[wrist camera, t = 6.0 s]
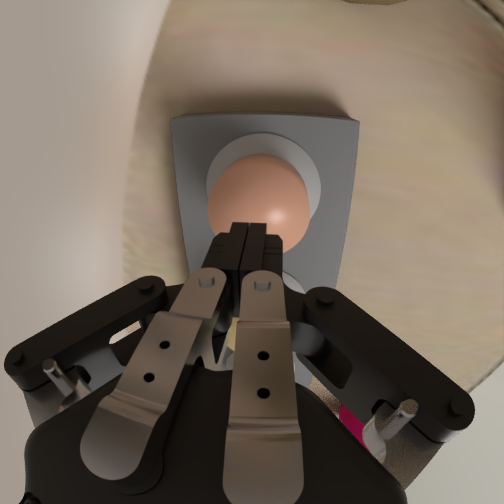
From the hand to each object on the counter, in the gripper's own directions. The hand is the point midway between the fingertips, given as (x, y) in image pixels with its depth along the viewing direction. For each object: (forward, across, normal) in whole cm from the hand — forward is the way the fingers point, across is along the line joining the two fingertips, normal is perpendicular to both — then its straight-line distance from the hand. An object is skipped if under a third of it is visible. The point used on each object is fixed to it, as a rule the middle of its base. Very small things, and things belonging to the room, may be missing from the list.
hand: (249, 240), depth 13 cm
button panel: (+9, 0, +10) cm, 14 cm away
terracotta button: (+5, 0, 0) cm, 5 cm away
